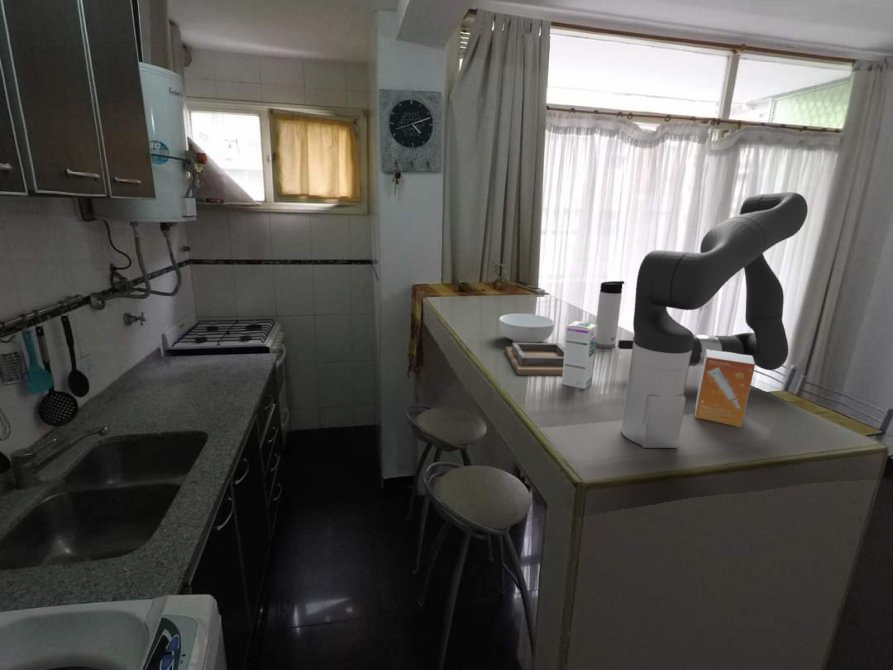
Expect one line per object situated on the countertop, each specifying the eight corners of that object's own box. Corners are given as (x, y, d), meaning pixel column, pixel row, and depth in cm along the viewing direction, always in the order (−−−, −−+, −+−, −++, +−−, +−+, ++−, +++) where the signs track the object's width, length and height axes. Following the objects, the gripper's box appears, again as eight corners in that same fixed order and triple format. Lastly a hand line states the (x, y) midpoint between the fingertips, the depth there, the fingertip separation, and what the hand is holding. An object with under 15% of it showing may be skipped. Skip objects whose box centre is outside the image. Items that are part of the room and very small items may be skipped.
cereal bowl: (492, 345, 137) (493, 322, 135) (503, 332, 152) (505, 311, 150) (549, 351, 131) (551, 328, 129) (555, 337, 147) (557, 316, 145)
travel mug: (617, 349, 135) (626, 282, 130) (594, 347, 136) (602, 281, 131) (614, 343, 141) (622, 279, 136) (592, 341, 142) (599, 278, 137)
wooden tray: (581, 375, 112) (582, 361, 112) (517, 374, 112) (518, 361, 111) (560, 352, 131) (561, 340, 130) (505, 351, 130) (506, 340, 129)
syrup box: (585, 389, 103) (592, 328, 99) (560, 384, 106) (566, 324, 102) (592, 382, 108) (599, 323, 104) (568, 377, 111) (573, 320, 107)
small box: (694, 418, 90) (705, 356, 86) (694, 407, 95) (705, 348, 92) (742, 428, 86) (756, 363, 83) (739, 416, 91) (752, 354, 88)
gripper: (680, 327, 112) (615, 326, 111) (715, 343, 98) (641, 342, 97) (675, 356, 114) (612, 355, 113) (709, 375, 100) (637, 375, 99)
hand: (626, 349), depth 105 cm, fingers open, 8 cm apart
